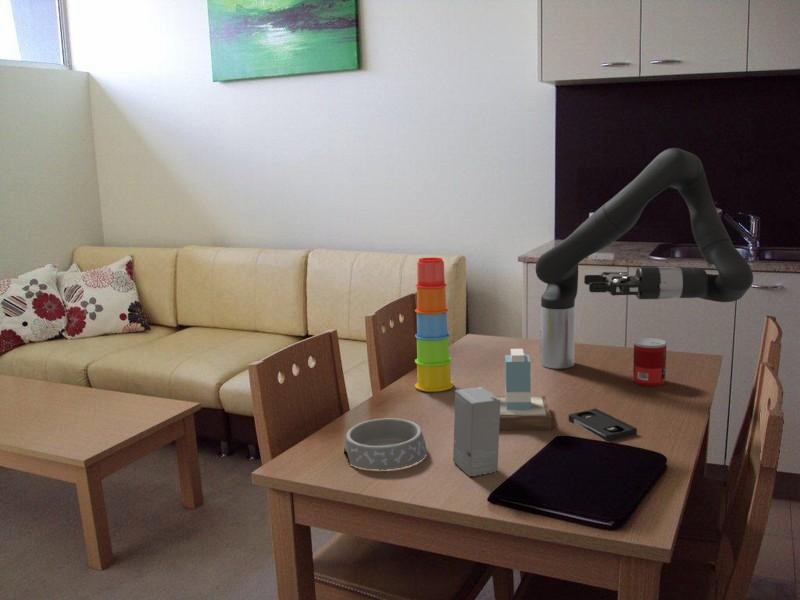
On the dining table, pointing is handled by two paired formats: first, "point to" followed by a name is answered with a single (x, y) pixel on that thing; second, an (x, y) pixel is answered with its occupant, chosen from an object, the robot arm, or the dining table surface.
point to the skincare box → (476, 431)
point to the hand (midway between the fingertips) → (586, 283)
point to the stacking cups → (432, 327)
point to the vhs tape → (602, 425)
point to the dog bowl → (385, 444)
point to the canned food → (649, 361)
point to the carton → (517, 380)
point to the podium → (525, 415)
